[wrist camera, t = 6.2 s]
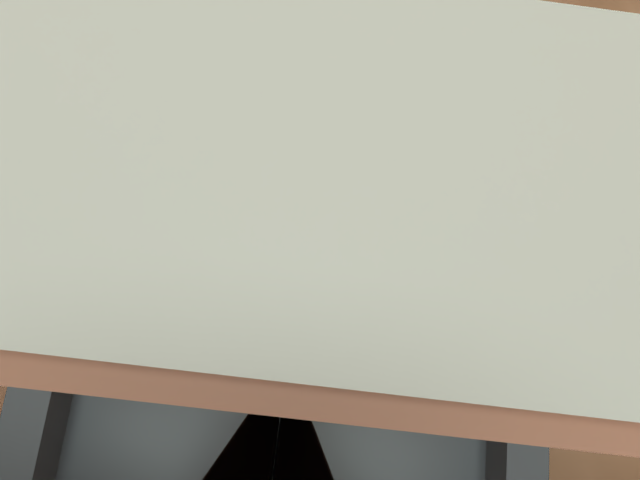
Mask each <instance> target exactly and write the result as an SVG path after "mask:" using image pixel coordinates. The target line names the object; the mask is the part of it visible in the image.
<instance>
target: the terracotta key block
mask: <svg viewBox="0 0 640 480" xmlns="http://www.w3.org/2000/svg"><path fill="white" fill-rule="evenodd" d="M0 386H7V387H16V388H25V389H34V390H42V391H51V392H60V393H69V394H78V395H87V396H96V397H105V398H114V399H122V400H131V401H140V402H149V403H158V404H167V405H176V406H185V407H194V408H202V409H211V410H220V411H229V412H238V413H247V414H256V415H265V416H274V417H282V418H291V419H300V420H309V421H318V422H327V423H336V424H345V425H354V426H362V427H371V428H380V429H389V430H398V431H407V432H416V433H425V434H434V435H442V436H451V437H460V438H469V439H478V440H487V441H496V442H505V443H514V444H522V445H531V446H540V447H549V448H558V449H567V450H576V451H585V452H593V453H602V454H611V455H620V456H629V457H638V458H640V14H636V13H629V12H621V11H614V10H607V9H599V8H592V7H585V6H577V5H570V4H562V3H555V2H548V1H540V0H0Z"/></svg>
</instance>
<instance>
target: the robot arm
mask: <svg viewBox="0 0 640 480" xmlns="http://www.w3.org/2000/svg"><path fill="white" fill-rule="evenodd" d="M279 420H280V422H279ZM278 428H279V430H278ZM277 437H278V438H277ZM276 445H277V446H276ZM275 453H276V454H275ZM274 461H275V462H274ZM273 469H274V470H273ZM272 478H273V479H272ZM202 480H334V478H333V475H332V473H331V470H330V467H329V465H328V462H327V460H326V457H325V454H324V452H323V449H322V446H321V444H320V441H319V438H318V436H317V433H316V431H315V428H314V425H313V423H312V421H309V420H300V419H291V418H282V417H274V416H265V415H256V414H247V416H246V417H245V419H244V420H243V422H242V423H241V424H240V426H239V427H238V429H237V430H236V432H235V433H234V434H233V436H232V437H231V439H230V440H229V442H228V443H227V445H226V446H225V447H224V449H223V450H222V452H221V453H220V455H219V456H218V457H217V459H216V460H215V462H214V463H213V465H212V466H211V468H210V469H209V470H208V472H207V473H206V475H205V476H204V478H203V479H202Z"/></svg>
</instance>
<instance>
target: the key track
mask: <svg viewBox="0 0 640 480" xmlns="http://www.w3.org/2000/svg"><path fill="white" fill-rule="evenodd" d="M246 416H247V413H238V412H229V411H220V410H211V409H202V408H194V407H185V406H176V405H167V404H158V403H149V402H140V401H131V400H122V399H114V398H105V397H96V396H87V395H78V394H69V393H60V392H51V391H42V390H34V389H25V388H16V387H7V391H6V395H5V399H4V403H3V407H2V412H1V416H0V480H202V479H203V478H204V476H205V475H206V473H207V472H208V470H209V469H210V468H211V466H212V465H213V463H214V462H215V460H216V459H217V457H218V456H219V455H220V453H221V452H222V450H223V449H224V447H225V446H226V445H227V443H228V442H229V440H230V439H231V437H232V436H233V434H234V433H235V432H236V430H237V429H238V427H239V426H240V424H241V423H242V422H243V420H244V419H245V417H246ZM279 422H280V420H279ZM312 423H313V425H314V428H315V431H316V433H317V436H318V438H319V441H320V444H321V446H322V449H323V452H324V454H325V457H326V460H327V462H328V465H329V467H330V470H331V473H332V475H333V478H334V480H549V447H540V446H531V445H522V444H514V443H505V442H496V441H487V440H478V439H469V438H460V437H451V436H442V435H434V434H425V433H416V432H407V431H398V430H389V429H380V428H371V427H362V426H354V425H345V424H336V423H327V422H318V421H312ZM278 430H279V428H278ZM277 438H278V437H277ZM276 446H277V445H276ZM275 454H276V453H275ZM274 462H275V461H274ZM273 470H274V469H273ZM272 479H273V478H272Z"/></svg>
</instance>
